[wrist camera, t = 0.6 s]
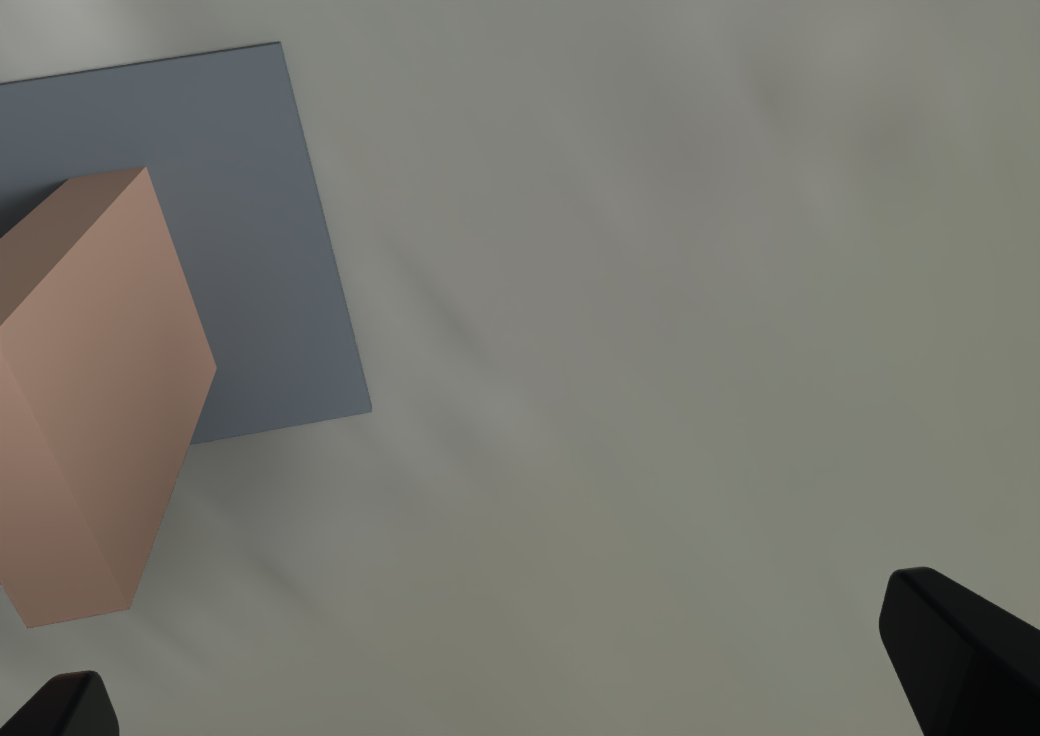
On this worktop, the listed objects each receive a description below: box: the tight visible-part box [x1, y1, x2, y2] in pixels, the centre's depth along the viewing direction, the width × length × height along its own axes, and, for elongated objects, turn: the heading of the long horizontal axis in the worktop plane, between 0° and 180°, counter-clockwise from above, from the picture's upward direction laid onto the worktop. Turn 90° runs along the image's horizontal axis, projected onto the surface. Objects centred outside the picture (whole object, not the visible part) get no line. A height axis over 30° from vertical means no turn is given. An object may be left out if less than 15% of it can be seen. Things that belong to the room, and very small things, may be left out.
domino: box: [0, 166, 217, 628], centre depth 15 cm, size 2×5×8 cm, turn 7°
